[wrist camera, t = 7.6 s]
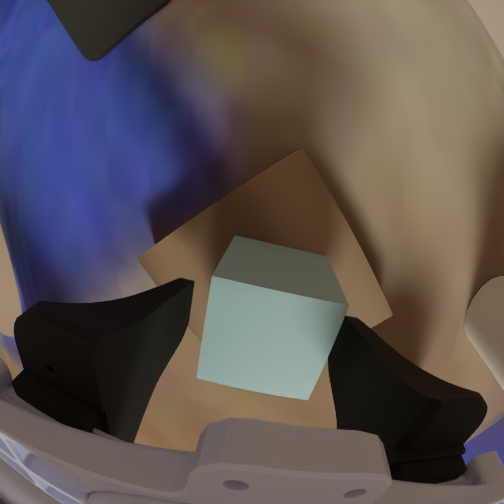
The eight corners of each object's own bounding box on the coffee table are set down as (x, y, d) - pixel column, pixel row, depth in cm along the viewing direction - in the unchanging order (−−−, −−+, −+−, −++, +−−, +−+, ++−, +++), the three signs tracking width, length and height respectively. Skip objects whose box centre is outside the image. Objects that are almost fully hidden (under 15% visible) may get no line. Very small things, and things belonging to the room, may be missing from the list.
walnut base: (247, 359, 20) (242, 388, 17) (158, 242, 18) (137, 258, 15) (378, 292, 17) (393, 315, 14) (298, 149, 15) (302, 147, 12)
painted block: (301, 333, 15) (307, 400, 11) (219, 316, 15) (196, 377, 11) (326, 256, 14) (348, 305, 9) (234, 235, 14) (212, 275, 9)
